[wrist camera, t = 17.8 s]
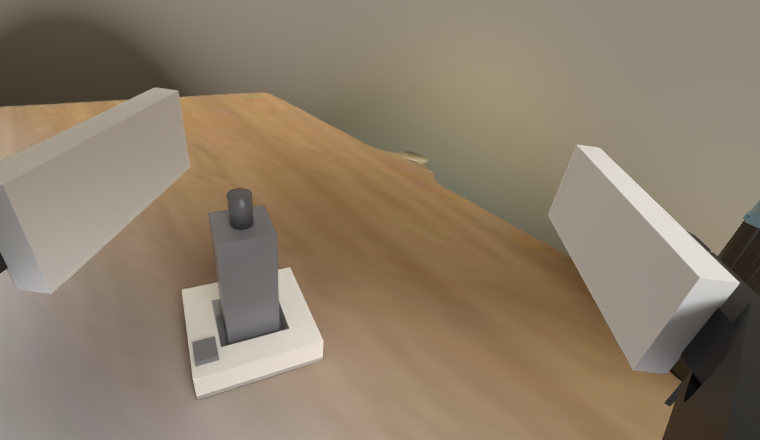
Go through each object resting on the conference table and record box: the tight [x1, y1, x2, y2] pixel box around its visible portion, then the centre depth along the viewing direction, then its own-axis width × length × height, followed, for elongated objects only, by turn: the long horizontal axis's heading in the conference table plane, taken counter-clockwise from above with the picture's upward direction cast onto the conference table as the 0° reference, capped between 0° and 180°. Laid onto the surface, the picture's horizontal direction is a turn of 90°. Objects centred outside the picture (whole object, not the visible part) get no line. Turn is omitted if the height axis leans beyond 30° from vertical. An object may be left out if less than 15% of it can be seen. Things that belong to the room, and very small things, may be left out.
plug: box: [208, 188, 279, 345], centre depth 38 cm, size 5×5×17 cm
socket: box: [182, 267, 323, 400], centre depth 42 cm, size 12×12×4 cm
